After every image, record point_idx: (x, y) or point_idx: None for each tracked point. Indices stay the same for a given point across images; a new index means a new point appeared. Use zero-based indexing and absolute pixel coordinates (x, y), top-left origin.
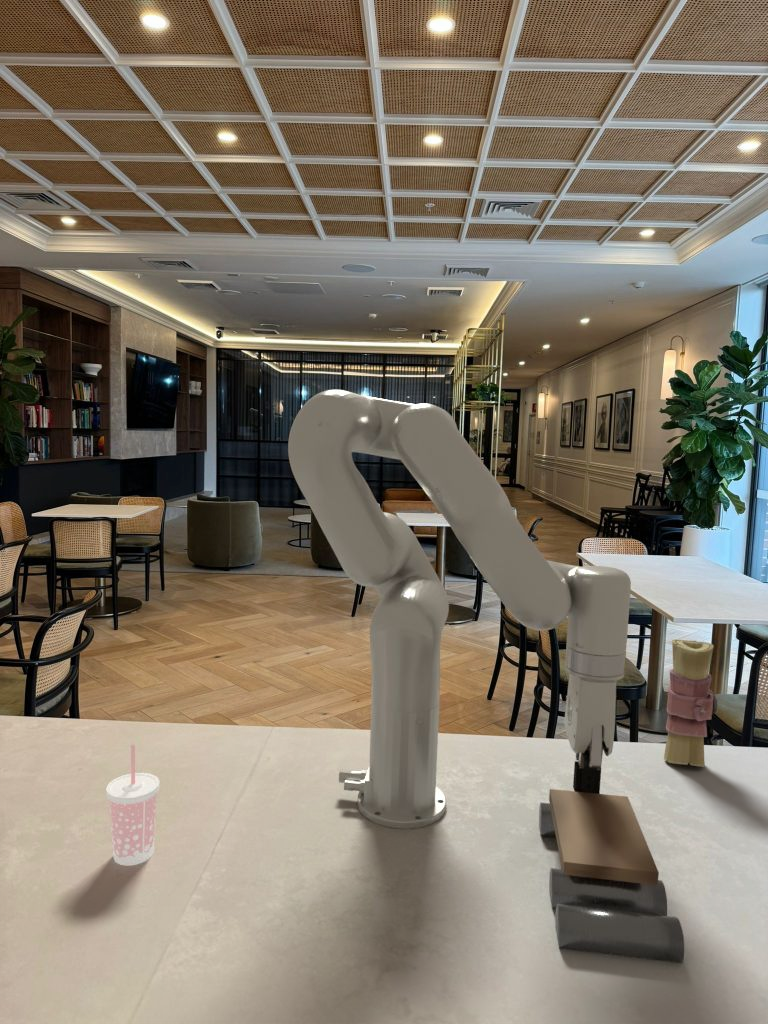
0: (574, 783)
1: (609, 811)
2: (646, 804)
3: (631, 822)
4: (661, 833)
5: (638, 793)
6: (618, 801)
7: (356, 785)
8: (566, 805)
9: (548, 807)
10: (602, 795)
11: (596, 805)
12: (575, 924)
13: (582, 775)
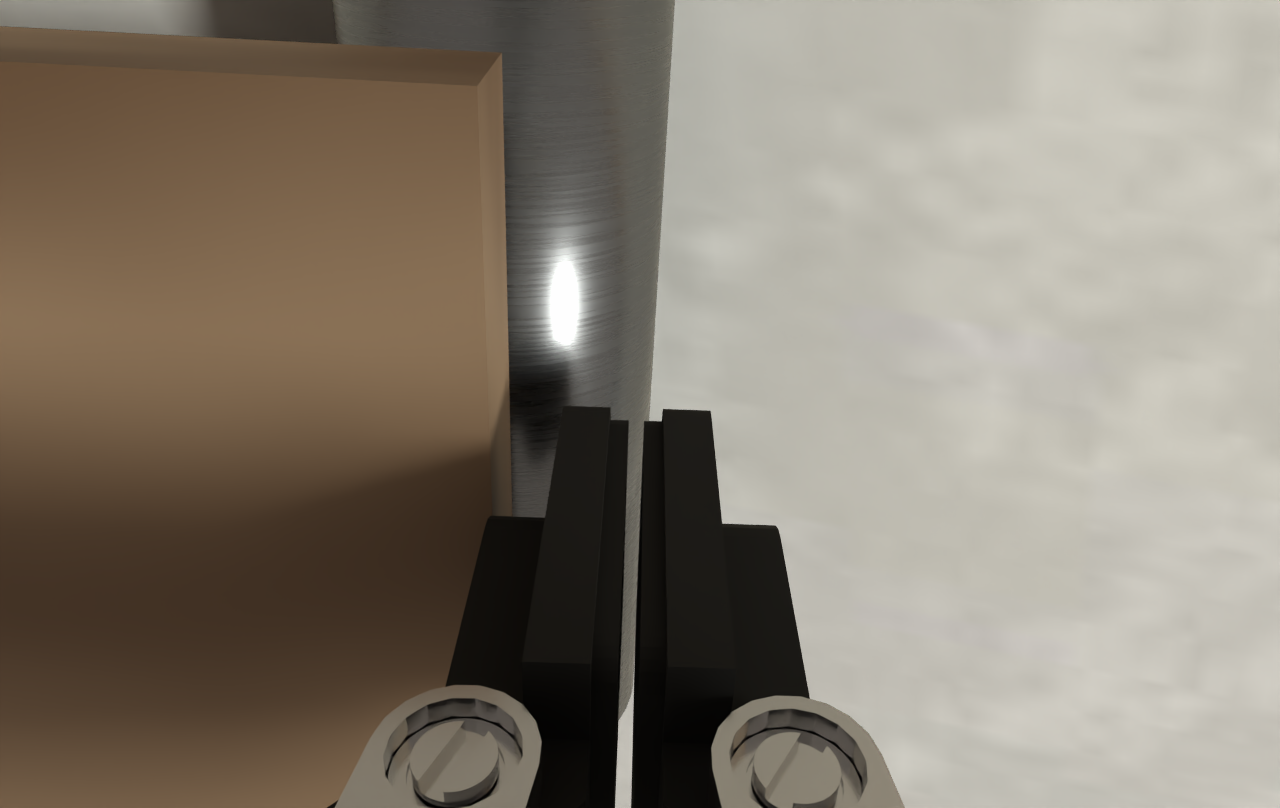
0: (665, 455)
1: (137, 670)
2: (1000, 767)
3: (17, 787)
4: None
5: (1147, 759)
6: None
7: None
8: (60, 257)
9: (431, 24)
10: None
11: (211, 584)
12: None
13: (510, 640)
